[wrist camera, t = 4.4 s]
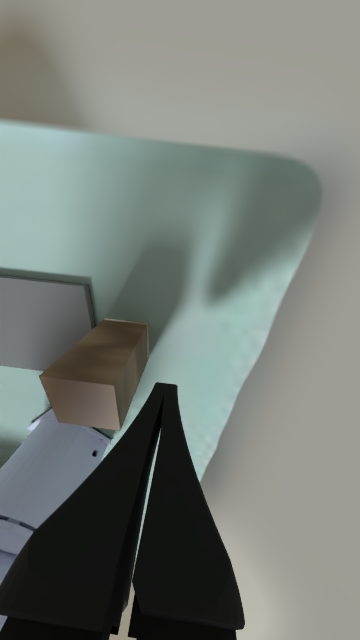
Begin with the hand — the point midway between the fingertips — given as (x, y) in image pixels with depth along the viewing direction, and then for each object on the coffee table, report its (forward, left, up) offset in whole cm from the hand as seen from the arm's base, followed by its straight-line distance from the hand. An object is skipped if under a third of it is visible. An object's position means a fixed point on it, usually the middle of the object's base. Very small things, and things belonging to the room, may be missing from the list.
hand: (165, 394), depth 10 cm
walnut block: (+3, +3, -6) cm, 7 cm away
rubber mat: (+10, +10, -6) cm, 16 cm away
